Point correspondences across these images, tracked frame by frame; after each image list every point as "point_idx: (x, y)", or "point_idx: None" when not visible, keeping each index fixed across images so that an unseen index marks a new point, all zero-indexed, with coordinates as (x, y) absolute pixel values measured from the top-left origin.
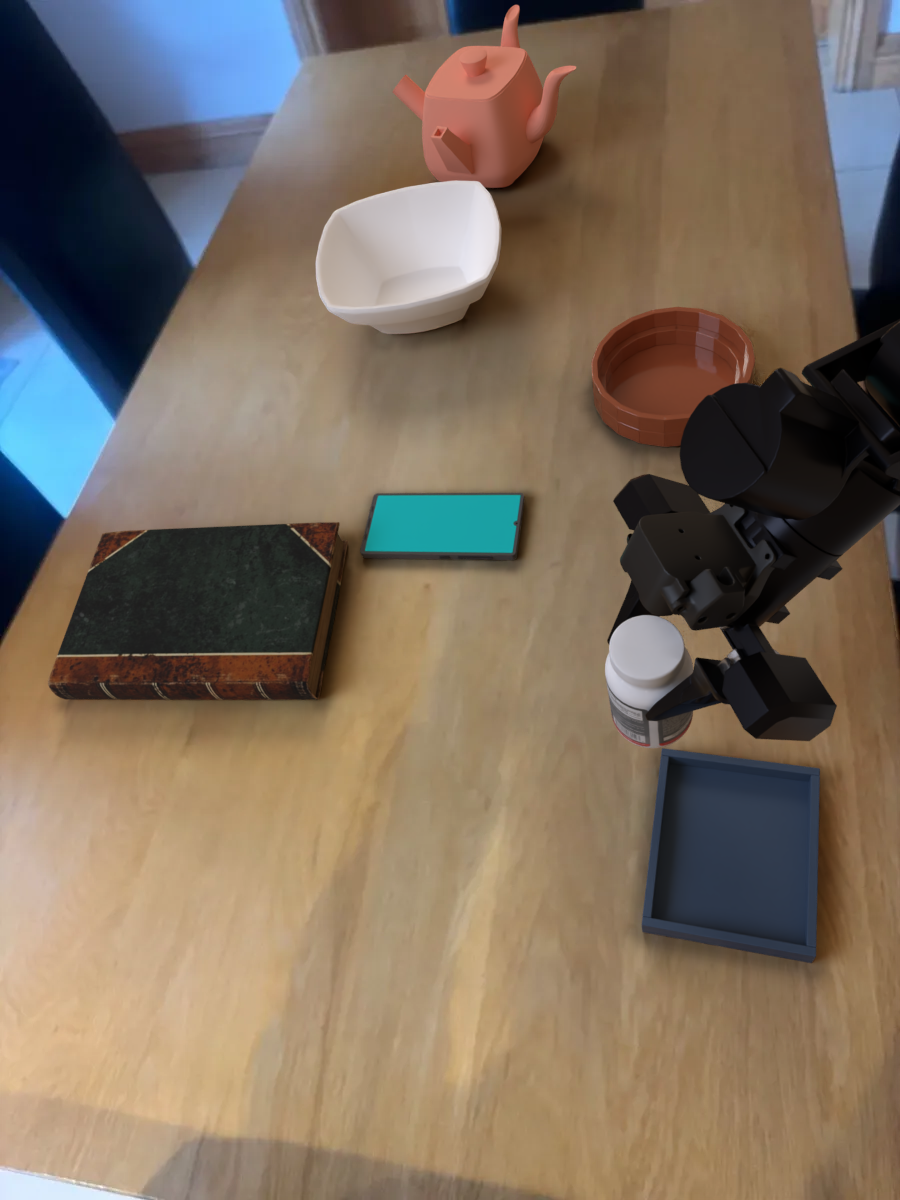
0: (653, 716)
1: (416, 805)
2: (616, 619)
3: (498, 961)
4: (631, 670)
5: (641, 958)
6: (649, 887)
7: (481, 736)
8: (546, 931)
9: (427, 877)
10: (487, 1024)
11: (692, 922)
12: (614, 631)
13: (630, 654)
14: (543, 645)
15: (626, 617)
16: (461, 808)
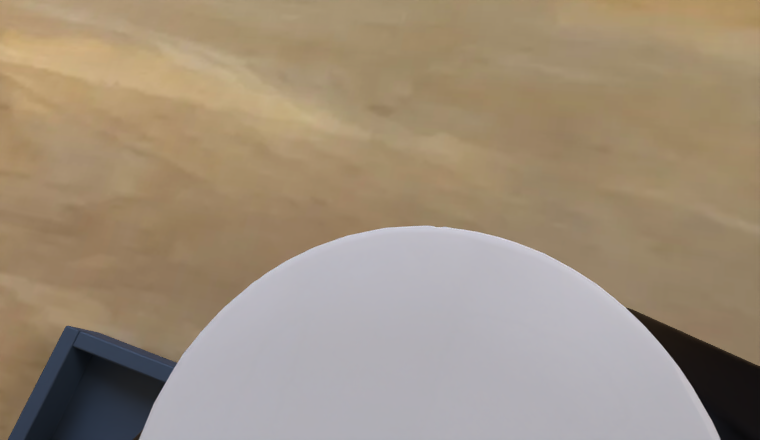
0: (137, 438)
1: (399, 3)
2: (743, 362)
3: (127, 105)
4: (237, 347)
5: (60, 322)
6: (124, 355)
7: (513, 110)
8: (148, 179)
9: (278, 16)
10: (52, 84)
11: (72, 426)
12: (601, 289)
13: (371, 369)
14: (720, 249)
15: (750, 425)
16: (380, 69)
